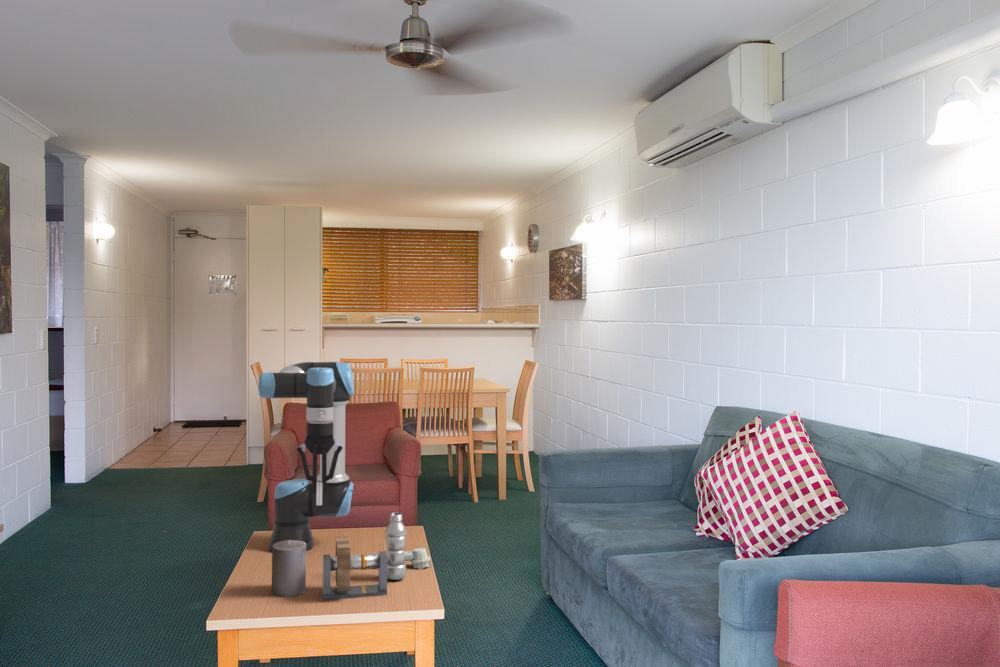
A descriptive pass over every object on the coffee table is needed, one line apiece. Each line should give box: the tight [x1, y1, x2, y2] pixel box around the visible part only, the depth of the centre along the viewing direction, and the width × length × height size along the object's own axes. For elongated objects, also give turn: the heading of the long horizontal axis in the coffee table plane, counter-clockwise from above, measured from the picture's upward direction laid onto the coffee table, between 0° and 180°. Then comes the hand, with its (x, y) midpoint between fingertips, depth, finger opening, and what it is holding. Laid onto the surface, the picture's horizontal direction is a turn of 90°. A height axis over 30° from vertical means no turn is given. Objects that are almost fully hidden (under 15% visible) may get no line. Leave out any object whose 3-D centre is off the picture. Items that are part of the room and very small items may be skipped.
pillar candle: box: [271, 540, 307, 598], centre depth 227 cm, size 10×10×15 cm
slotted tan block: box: [334, 536, 351, 591], centre depth 225 cm, size 12×4×12 cm, turn 15°
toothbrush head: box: [377, 547, 431, 570], centre depth 250 cm, size 5×7×25 cm
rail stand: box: [322, 550, 388, 601], centre depth 226 cm, size 7×18×11 cm, turn 105°
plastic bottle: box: [385, 512, 408, 581], centre depth 239 cm, size 6×7×20 cm
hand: (319, 504), depth 223 cm, fingers closed
